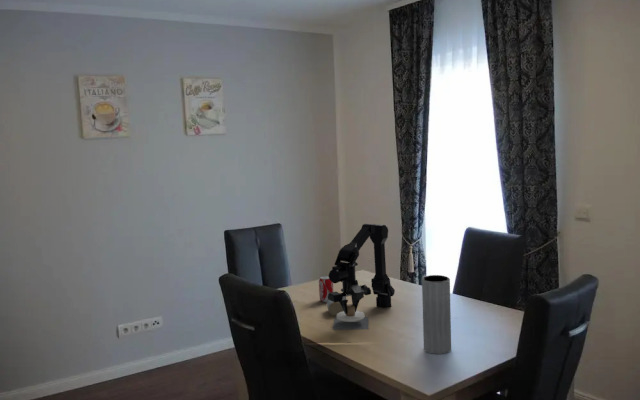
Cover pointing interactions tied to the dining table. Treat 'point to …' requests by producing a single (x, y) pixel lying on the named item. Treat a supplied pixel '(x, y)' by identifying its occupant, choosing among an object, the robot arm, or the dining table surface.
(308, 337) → the dining table surface
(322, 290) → the soda can
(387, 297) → the robot arm
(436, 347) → the vase
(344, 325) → the mat
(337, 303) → the ceramic mug
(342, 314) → the lid
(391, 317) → the dining table surface
